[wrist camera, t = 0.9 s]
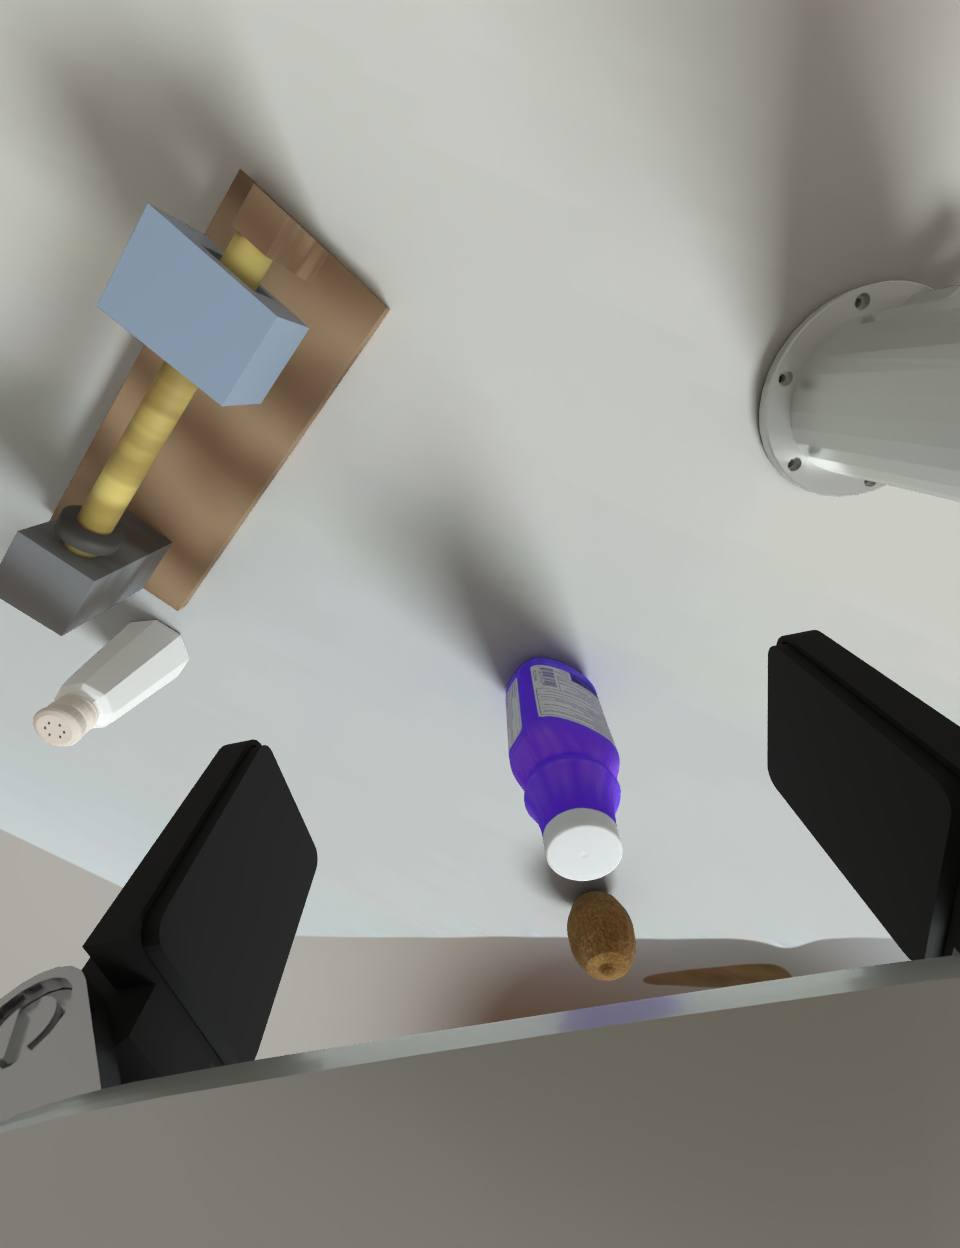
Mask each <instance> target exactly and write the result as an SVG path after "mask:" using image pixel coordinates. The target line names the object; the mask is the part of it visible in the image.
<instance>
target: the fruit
mask: <svg viewBox="0 0 960 1248" xmlns="http://www.w3.org/2000/svg"><path fill="white" fill-rule="evenodd" d="M567 932H568V938H569V942H570V946H571V950H572V953H573V955H574V957H575V959H576V961H577V962H578V963H579V965H580V966H581V968H582V969H583V970H584V971H585V972H586V973H588V974H589V975H590V976H591V977H593V978H595V979H598V980H605V981H608V980H614V979H617V978H620V977H622V976H623V975H625V974H626V973H627V972H628V970H629V968H630V966H631V965H632V962H633V960H634V956H635V952H636V940H635V935H634V929H633V924H632V922H631V919H630V916H629V915H628V913H627V912H626V910H625V909H624V907H623V906H622V905H621V904H620V903H619V902H618V901H617V900H616V899H615V898H614V897H613V896H612V895H610V894H608V893H606V892H601V891H592V892H587V893H585V894H583V895H581V896H579V897H578V898H577V899H576V900H575V902H574V903H573V906H572V908H571V911H570V914H569V917H568V923H567Z"/></svg>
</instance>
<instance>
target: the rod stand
mask: <svg viewBox="0 0 960 1248" xmlns="http://www.w3.org/2000/svg"><path fill="white" fill-rule="evenodd" d="M205 236H206V237H208V238H209V239H210V240H211V241H212V242H213V243H214V244H215V245H217V246H218V247H219V248H220V249H221V250H222V251H223V252H224V254H223V256H222V258H221V260H220V262H221V263H222V264H223V265H225V266H226V267H227V268H228V269H229V270H230V271H231V272H232V273H234V274H235V275H236V276H237V277H238V278H239V279H240V280H242V281H243V282H244V283H245V284H246V285H247V286H248V287H250V288H251V289H252V290H253V291H256V289H257V287H258V286H259V284H261V285H262V286H263V287H264V288H265V289H266V290H267V291H268V292H270V293H271V294H272V295H273V296H274V297H275V298H276V299H277V300H279V301H280V302H281V303H282V304H283V305H284V306H285V307H286V308H288V309H289V310H290V311H291V312H292V313H293V314H294V315H295V316H297V317H298V318H299V319H300V320H301V321H302V322H303V323H304V324H306V325H307V326H308V327H309V330H308V331H307V333H306V335H305V336H304V338H303V339H302V341H301V342H300V344H299V345H298V347H297V348H296V350H295V352H294V353H293V355H292V356H291V358H290V359H289V361H288V362H287V364H286V366H285V367H284V369H283V370H282V372H281V373H280V375H279V376H278V378H277V379H276V381H275V383H274V384H273V386H272V387H271V389H270V390H269V392H268V393H267V395H266V396H265V398H264V400H263V401H262V403H261V404H248V405H234V406H221V405H220V404H218V403H217V402H216V401H215V400H213V399H212V398H211V397H210V396H208V395H207V394H206V393H205V392H203V391H202V390H201V389H200V388H198V387H197V386H196V385H195V384H193V383H192V382H191V381H190V380H188V379H187V378H186V377H185V376H183V375H182V374H181V373H180V372H178V371H177V370H176V369H175V368H173V367H172V366H171V365H170V364H168V363H167V362H166V361H165V360H163V359H162V358H161V357H160V356H158V355H157V354H156V353H155V352H153V351H152V350H151V349H150V348H148V347H147V346H146V345H145V346H144V347H143V349H142V351H141V353H140V355H139V357H138V359H137V360H136V362H135V364H134V366H133V368H132V370H131V371H130V373H129V375H128V377H127V379H126V381H125V383H124V384H123V386H122V388H121V390H120V392H119V394H118V395H117V397H116V399H115V401H114V403H113V405H112V407H111V408H110V410H109V412H108V414H107V416H106V418H105V419H104V421H103V423H102V425H101V427H100V429H99V431H98V432H97V434H96V436H95V438H94V440H93V442H92V444H91V445H90V447H89V449H88V451H87V453H86V455H85V456H84V458H83V460H82V462H81V464H80V466H79V468H78V469H77V471H76V473H75V475H74V477H73V479H72V480H71V482H70V484H69V486H68V488H67V490H66V492H65V493H64V495H63V497H62V499H61V501H60V503H59V504H58V506H57V508H56V510H55V512H54V514H53V516H52V517H51V519H50V521H49V522H46V523H43V524H40V525H36V526H33V527H30V528H27V529H23V530H20V531H17V533H16V535H15V537H14V539H13V541H12V543H11V545H10V547H9V549H8V551H7V553H6V555H5V556H4V558H3V560H2V562H1V564H0V599H2V600H4V601H5V602H7V603H9V604H10V605H12V606H13V607H15V608H17V609H18V610H20V611H22V612H23V613H25V614H26V615H28V616H30V617H31V618H33V619H35V620H36V621H38V622H39V623H41V624H43V625H44V626H46V627H48V628H49V629H51V630H52V631H54V632H56V633H57V634H59V635H61V636H63V635H64V634H66V633H68V632H69V631H71V630H73V629H74V628H76V627H78V626H79V625H81V624H83V623H85V622H86V621H88V620H90V619H91V618H93V617H95V616H96V615H98V614H100V613H101V612H103V611H105V610H107V609H108V608H110V607H112V606H113V605H115V604H117V603H118V602H120V601H122V600H124V599H125V598H127V597H129V596H130V595H132V594H134V593H135V592H137V591H139V590H140V589H142V588H144V589H146V590H147V591H149V592H150V593H152V594H153V595H155V596H156V597H158V598H159V599H161V600H162V601H164V602H165V603H167V604H168V605H170V606H171V607H173V608H174V609H176V610H177V611H178V610H180V609H181V608H183V607H184V606H185V605H186V604H187V603H188V601H189V600H190V598H191V597H192V595H193V594H194V593H195V591H196V590H197V588H198V587H199V585H200V584H201V582H202V581H203V580H204V578H205V577H206V575H207V574H208V572H209V571H210V569H211V568H212V567H213V565H214V564H215V562H216V561H217V559H218V558H219V556H220V555H221V553H222V552H223V551H224V549H225V548H226V546H227V545H228V543H229V542H230V540H231V539H232V538H233V536H234V535H235V533H236V532H237V530H238V529H239V527H240V526H241V525H242V523H243V522H244V520H245V519H246V517H247V516H248V514H249V513H250V512H251V510H252V509H253V507H254V506H255V504H256V503H257V501H258V500H259V498H260V497H261V496H262V494H263V493H264V491H265V490H266V488H267V487H268V485H269V484H270V483H271V481H272V480H273V478H274V477H275V475H276V474H277V472H278V471H279V470H280V468H281V467H282V465H283V464H284V462H285V461H286V459H287V458H288V456H289V455H290V454H291V452H292V451H293V449H294V448H295V446H296V445H297V443H298V442H299V441H300V439H301V438H302V436H303V435H304V433H305V432H306V430H307V429H308V428H309V426H310V425H311V423H312V422H313V420H314V419H315V417H316V416H317V414H318V413H319V412H320V410H321V409H322V407H323V406H324V404H325V403H326V401H327V400H328V399H329V397H330V396H331V394H332V393H333V391H334V390H335V388H336V387H337V386H338V384H339V383H340V381H341V380H342V378H343V377H344V375H345V374H346V372H347V371H348V370H349V368H350V367H351V365H352V364H353V362H354V361H355V359H356V358H357V357H358V355H359V354H360V352H361V351H362V349H363V348H364V346H365V345H366V344H367V342H368V341H369V339H370V338H371V336H372V335H373V333H374V332H375V331H376V329H377V328H378V326H379V325H380V323H381V322H382V320H383V319H384V317H385V316H386V315H387V313H388V312H389V310H390V309H389V308H388V307H387V306H386V305H384V304H383V303H382V302H381V301H380V300H379V299H378V298H377V297H376V296H375V295H374V294H373V293H372V292H371V291H370V290H369V289H367V288H366V287H365V286H364V285H363V284H362V283H361V282H360V281H359V280H358V279H357V278H356V277H355V276H354V275H353V274H352V273H351V272H349V271H348V270H347V269H346V268H345V267H344V266H343V265H342V264H341V263H340V262H339V261H338V260H337V259H336V258H335V257H334V256H333V255H331V254H330V253H329V252H328V251H327V250H326V249H325V248H324V247H323V246H322V245H321V244H320V243H319V242H318V241H317V240H316V239H314V238H313V237H312V236H311V235H310V234H309V233H308V232H307V231H306V230H305V229H304V228H303V227H302V226H301V225H300V224H299V223H298V222H296V221H295V220H294V219H293V218H292V217H291V216H290V215H289V214H288V213H287V212H286V211H285V210H284V209H283V208H282V207H281V206H279V205H278V204H277V203H276V202H275V201H274V200H273V199H272V198H271V197H270V196H269V195H268V194H267V193H266V192H265V191H264V190H263V189H261V188H260V187H259V186H258V185H257V184H256V183H255V182H254V181H253V180H252V179H251V178H250V177H249V176H248V175H247V174H245V173H244V172H243V171H242V170H241V169H240V170H239V172H238V174H237V176H236V177H235V179H234V181H233V183H232V185H231V187H230V189H229V190H228V192H227V194H226V196H225V198H224V200H223V201H222V203H221V205H220V207H219V209H218V211H217V213H216V214H215V216H214V218H213V220H212V222H211V224H210V225H209V227H208V229H207V231H206V233H205Z"/></svg>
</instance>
